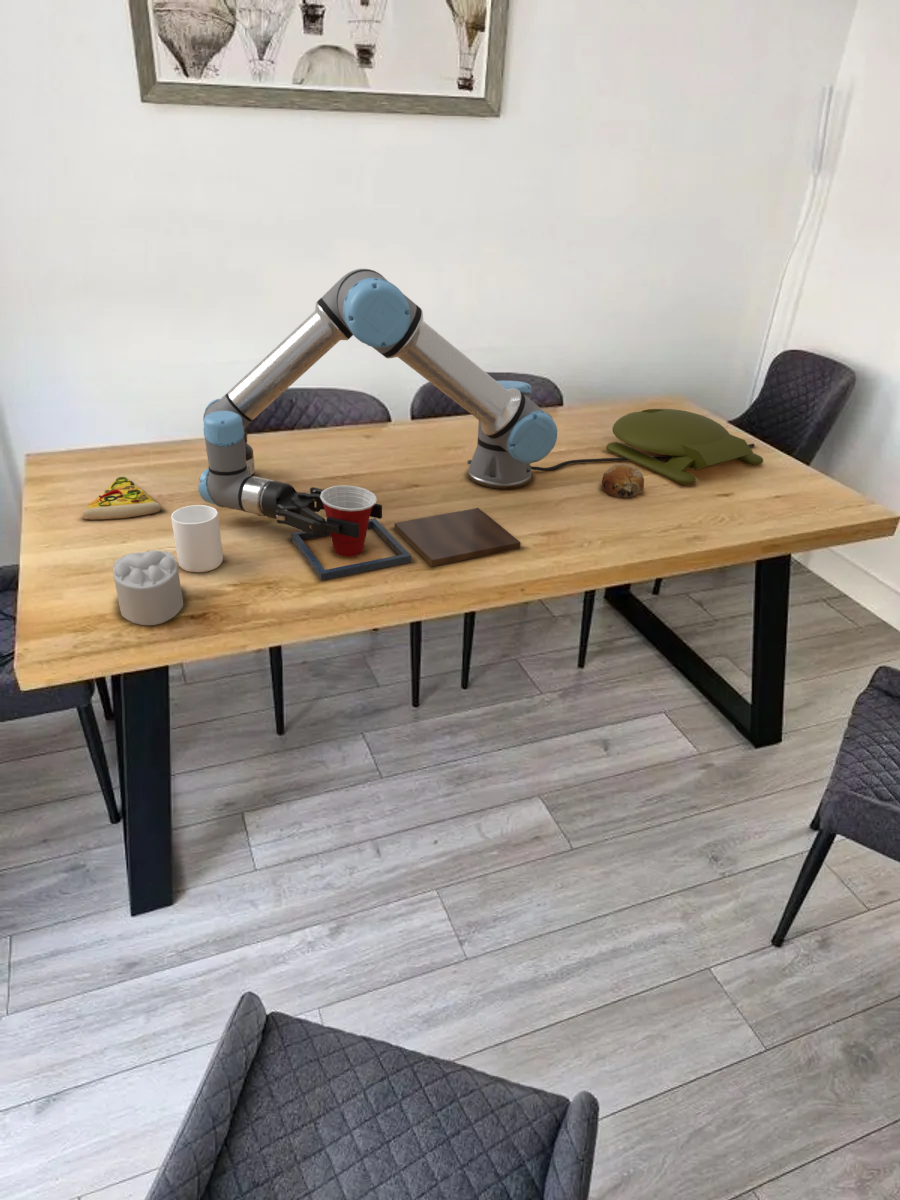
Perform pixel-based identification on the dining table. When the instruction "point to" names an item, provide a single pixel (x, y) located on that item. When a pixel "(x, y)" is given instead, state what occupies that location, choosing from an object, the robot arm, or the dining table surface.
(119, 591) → the egg container
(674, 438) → the spaceship
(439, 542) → the walnut board
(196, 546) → the mug
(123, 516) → the pizza slice
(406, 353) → the robot arm
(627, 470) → the bread roll
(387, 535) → the square frame
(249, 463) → the ink bottle
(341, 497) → the plastic cup
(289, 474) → the dining table surface
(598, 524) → the dining table surface
